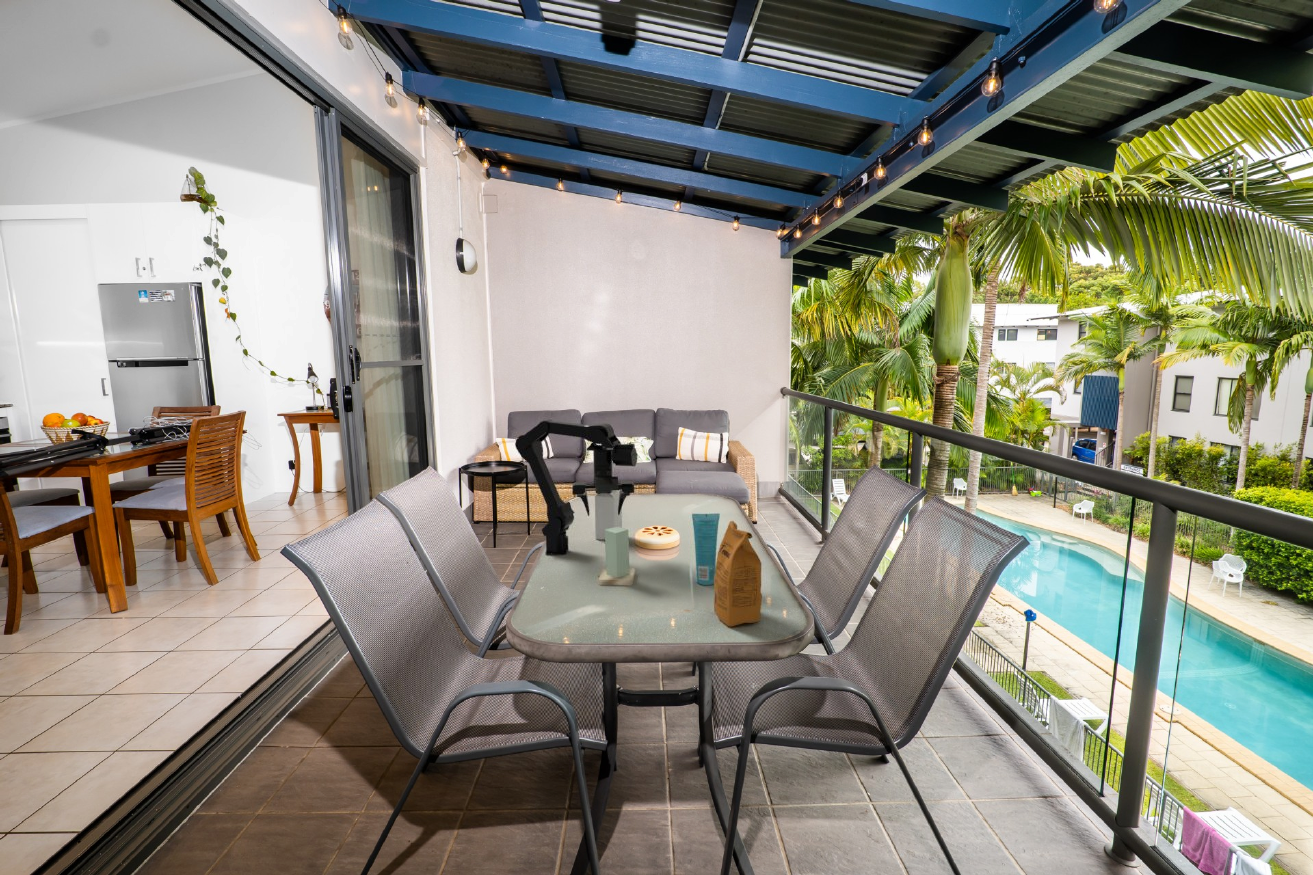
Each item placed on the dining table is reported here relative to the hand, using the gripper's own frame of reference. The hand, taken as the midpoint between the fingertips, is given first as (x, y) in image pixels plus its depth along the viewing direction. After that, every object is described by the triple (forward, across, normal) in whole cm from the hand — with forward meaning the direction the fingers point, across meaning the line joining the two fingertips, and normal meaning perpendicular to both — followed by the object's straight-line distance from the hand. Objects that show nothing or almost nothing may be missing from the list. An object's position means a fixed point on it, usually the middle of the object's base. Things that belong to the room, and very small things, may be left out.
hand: (603, 515), depth 186 cm
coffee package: (+13, +30, -49) cm, 59 cm away
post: (+11, +3, -23) cm, 26 cm away
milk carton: (+13, +2, +20) cm, 24 cm away
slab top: (+12, +3, -23) cm, 26 cm away
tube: (+13, +27, -26) cm, 40 cm away
